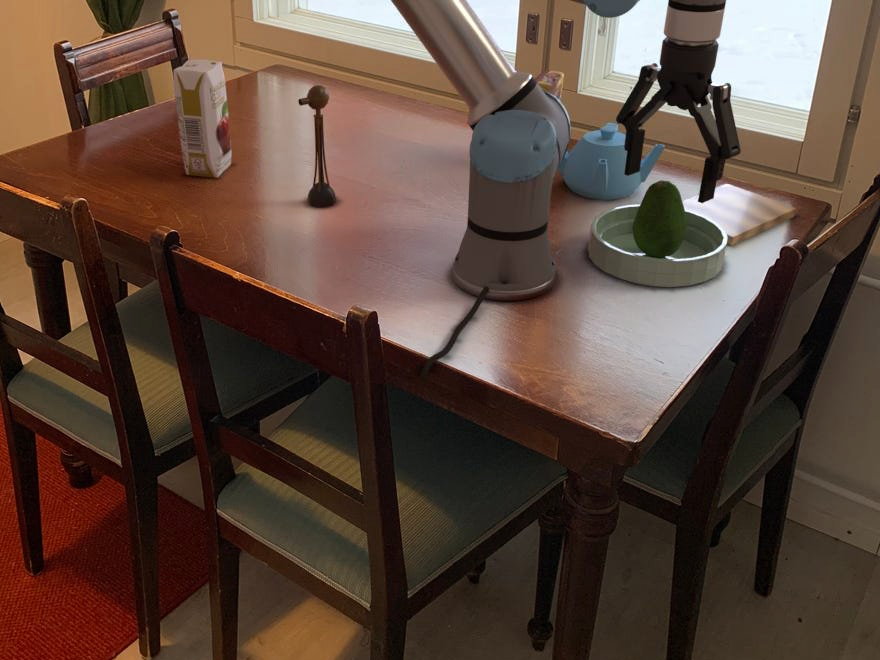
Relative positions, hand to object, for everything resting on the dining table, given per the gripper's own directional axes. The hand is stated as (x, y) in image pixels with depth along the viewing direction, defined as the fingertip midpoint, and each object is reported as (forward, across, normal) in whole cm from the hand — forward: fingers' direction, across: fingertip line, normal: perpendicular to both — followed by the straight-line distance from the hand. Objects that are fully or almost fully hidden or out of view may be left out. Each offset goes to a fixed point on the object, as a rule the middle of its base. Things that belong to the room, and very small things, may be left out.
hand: (667, 186), depth 149 cm
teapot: (+12, +24, -15) cm, 31 cm away
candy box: (+12, +41, -17) cm, 46 cm away
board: (+12, +2, -22) cm, 25 cm away
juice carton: (+11, +75, +35) cm, 84 cm away
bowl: (+12, 0, 0) cm, 12 cm away
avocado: (+12, 0, 0) cm, 12 cm away
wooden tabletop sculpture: (+12, +50, +28) cm, 59 cm away
